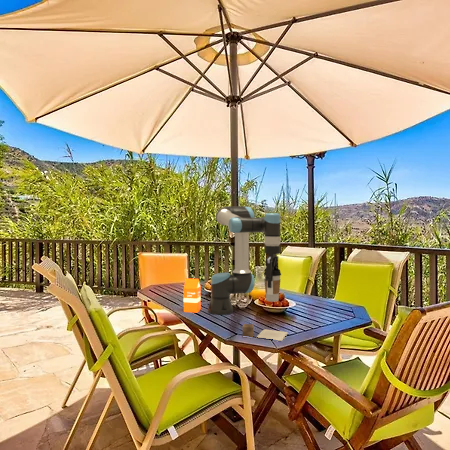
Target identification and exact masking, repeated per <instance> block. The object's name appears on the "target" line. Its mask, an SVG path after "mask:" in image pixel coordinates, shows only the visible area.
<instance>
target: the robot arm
mask: <svg viewBox="0 0 450 450" xmlns="http://www.w3.org/2000/svg"><path fill="white" fill-rule="evenodd" d="M215 220H216V221H217V223H218V224H220V225H222V226H227V227H228V230H229V232H230V233H232V234H233V233H234V269H233V271H232V274H230V272H218V273H214V274H213V275H211V278H210V301H209V303H208V307H207V312H208V313H209V314H210V315H221V316H222V315H223V316H224V315H229V314H232V313H233V311H234V308H233V304H232V301H231V295H232V294H233V295H235V294H249V293H251V292H252V291H254V287H255V275H254V274H252V271H251V270H250V268H249V266H250V265H249V263H250V252H249V250H250V247H249V245H250V242H249V241H250V240H249V238H250V237H249V233H264V253H265V254H268V256H267V258H265V269H266V278H265V277H264V279H265V281H267V294H269V295H273V281H272V278H273V270H276V269H279V256H277V255H279V254H281V246H280V245H281V241H282V238H281V221H282V220H281V214H280V213H275V212H274V213H271V212H270V213H267V212H266V213H264V217H255V213H254V210H253V209H252V207H250V206H244V205H243V206H242V205H241V206H236V205H235V206H228V205H227V206H223V207H221V208H219V209H218V210H217V212H216V214H215ZM269 277H270V278H269ZM265 281H264V282H265Z"/></svg>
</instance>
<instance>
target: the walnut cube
mask: <svg viewBox="0 0 450 450" xmlns="http://www.w3.org/2000/svg"><path fill="white" fill-rule="evenodd" d="M254 325H255V324H253V323H243V325H242V328H241V329H242V337H243V336H250V337H253V338H254V335H253V334H254V331H255V330H254V328H255V327H254Z"/></svg>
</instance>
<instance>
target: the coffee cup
mask: <svg viewBox="0 0 450 450" xmlns="http://www.w3.org/2000/svg"><path fill="white" fill-rule="evenodd" d="M263 275H264V289H265V290H264V291H265V301H267V302H273V303H274V302H278V301H279V300H280V299H279V298H280V288H281V276H282V272H281V270H280V269H279V268H278V269H276V270H273V278H272V281H273V295H269V294H267V281H265V278H266V268H264V272H263ZM269 278H270V277H269Z"/></svg>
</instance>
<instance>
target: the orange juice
mask: <svg viewBox="0 0 450 450" xmlns="http://www.w3.org/2000/svg"><path fill="white" fill-rule="evenodd" d="M201 289H202V288H201V282H200V278H190V277H189V278H188V277H187V278H185V280H184V286H183V312H184V313H195V314H196V313H197V314H198V313H199V312H200V311H201V309H202V306H201V305H202V304H201V303H202V302H201V298H202V297H201V296H202V295H201V293H202V292H201Z"/></svg>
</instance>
